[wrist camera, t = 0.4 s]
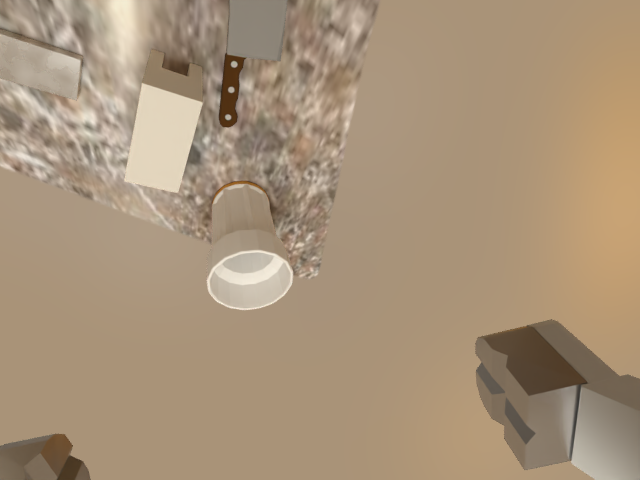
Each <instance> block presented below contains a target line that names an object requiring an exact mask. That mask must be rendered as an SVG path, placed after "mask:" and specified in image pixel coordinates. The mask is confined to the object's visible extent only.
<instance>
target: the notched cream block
mask: <svg viewBox="0 0 640 480" xmlns="http://www.w3.org/2000/svg"><path fill="white" fill-rule="evenodd" d="M164 54H165V53H162V52H159V51H156V50H153V49H151V52H150V56H149V60H148V63H147V67H146V71H145V74H144V78H143V82H142V87H141V92H140V97H139V103H138V108H137V114H136V119H135V125H134V130H133V136H132V141H131V147H130V152H129V158H128V163H127V168H126V174H125V179H124V181H126V182H130V183H135V184H139V185H144V186H148V187H153V188H157V189H162V190H166V191H171V192H175V193H178V191H179V187H180V184H181V180H182V177H183V173H184V169H185V166H186V162H187V158H188V155H189V151H190V147H191V144H192V140H193V137H194V133H195V129H196V126H197V122H198V118H199V115H200V111H201V108H202V104H203V81H202V67H201V66H198V65H195V64H192V63H190V65H189V69H188V73H187V76H185V75H182V74H179V73H176V72H173V71H170V70H167V69H164V68H162V65H163V60H164Z"/></svg>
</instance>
